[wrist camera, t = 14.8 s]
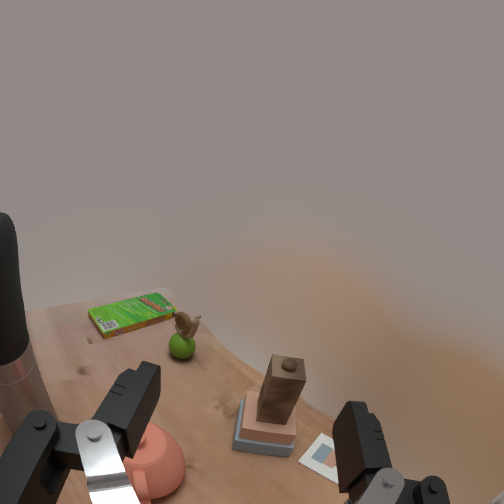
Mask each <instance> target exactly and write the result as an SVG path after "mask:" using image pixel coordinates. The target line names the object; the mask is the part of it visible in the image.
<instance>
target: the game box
mask: <svg viewBox="0 0 504 504" xmlns="http://www.w3.org/2000/svg"><path fill="white" fill-rule="evenodd" d="M160 299H162V300H163V301H165V302H166V304H167V305H165V304H164V303H163V302H162V301H161V300H160ZM175 311H177V308H175V307H174V306H173V305H172V304H171V303H169V302H168V301H167V300H166V299H165V298H164V297H163V296H162V295H160V294H159V293H152V294H148V295H144V296H140V297H136V298H132V299H128V300H124V301H120V302H116V303H112V304H108V305H104V306H100V307H96V308H92V309H88V314H89V317H90V319H91V321H92V322H93V324H94V325H95V327H96V328H97V330H98V331H99V333H100V334H101V336H102V337H103V339H107V338H110V337H114V336H117V335H120V334H124V333H127V332H130V331H134V330H137V329H140V328H143V327H146V326H150V325H153V324H156V323H159V322H162V321H165V320H169V319H172V315H173V312H175Z"/></svg>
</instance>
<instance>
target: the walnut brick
mask: <svg viewBox="0 0 504 504" xmlns="http://www.w3.org/2000/svg"><path fill="white" fill-rule="evenodd" d="M305 382H306V375H305V368H304V359H299V358H292V357H285V356H279V355H274V354H272V357H271V360H270V363H269V366H268V370H267V373H266V376H265V379H264V382H263V385H262V388H261V391H260V394H259V397H258V400H257V414H256V421H258V422H264V423H272V424H280V425H286V423H287V421H288V419H289V417H290V415H291V413H292V411H293V409H294V407H295V405H296V402H297V400H298V398H299V396H300V394H301V391H302V389H303V387H304V385H305Z"/></svg>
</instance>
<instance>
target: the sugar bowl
mask: <svg viewBox="0 0 504 504" xmlns="http://www.w3.org/2000/svg"><path fill="white" fill-rule="evenodd" d="M122 464H123V467H124V469H125V472H126V474H127V476H128V478H129V481H130V483H131V485H132V488H133V490H134V492H135V494H136V497H137V499H139V501H140V504H151V499H156V498H160V497H163V496H166V495H168V494H170V493H171V492H173V491H174V490H175V489H177V487H178V486H179V485H180V484H181V482H182V480H183V478H184V475H185V459H184V456H183V453H182V451H181V448H180V447H179V445H178V443H177V442H176V440H175V439H174V438H173V437H172V436H171V435H170V434H169V433H168V432H167V431H165V430H164V429H162V428H161V427H159V426H157V425H155V424H153V423H151V422H149V423H148V425H147V427H146V430H145V432H144V434H143V437H142V439H141V441H140V444H139V446H138V448H137V451H136V453H135V455H134V458H133V459H131V458H128V457H126V456H125V459H124V461H123V463H122Z"/></svg>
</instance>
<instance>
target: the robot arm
mask: <svg viewBox="0 0 504 504" xmlns="http://www.w3.org/2000/svg"><path fill="white" fill-rule="evenodd" d="M160 390H161V368H160V366H159V365H156V364H152V363H149V362H146V361H142V362H141V364H140V365H139V367H138V369H137V371H135V370H132V369H127V370H126V371H124V372H123V373H121V374H120V375H119V376H118V378H117V379H116V381H115V383H114V385H113V386H112V387H111V389H110V392H108V394H107V395H106V397H105V398H104V400H103V402H102V403H101V405H100V407H99V408H98V410H97V411H96V413H95V415H94V416H93V418H91V419H90V420H86V421H84V422H82V423H80V424H70V423H65V422H59V421H58V418H57V415H56V413H55V410H54V408H53V406H52V403H51V400H50V398H49V395H48V393H47V390H46V388H45V385H44V382H43V379H42V377H41V374H40V371H39V368H38V365H37V362H36V358H35V355H34V352H33V349H32V345H31V342H30V338H29V334H28V330H27V325H26V318H25V310H24V303H23V298H22V291H21V283H20V273H19V259H18V244H17V237H16V231H15V227H14V224H13V221H12V220H11V218H10V217H9V216H8V215H7V214H5V213H0V412H1V413H2V415H3V417H4V418H5V420H6V422H7V423H8V425H9V427H10V428H11V430H12V431H13V433H14V436H13V437H12V439H11V440H10V442H9V444H8V445H7V447H6V449H5V450H4V452H3V454H2V455H1V457H0V504H56V502H57V500H58V497H59V495H60V493H61V490H62V488H63V486H64V483H65V481H66V479H67V477H68V474H69V472H70V470H71V469H74V470H80V471H85V474H86V477H87V481H88V483H87V487H88V491H89V494H90V497H91V500H92V502H93V504H140V503H139V501H138V499H137V497H136V494H135V492H134V490H133V488H132V485H131V483H130V481H129V478H128V476H127V474H126V472H125V469H124V467H123V464H122V463H123V461H124V459H125V456H126V457H128V458H131V459H133V458H134V455H135V453H136V451H137V448H138V446H139V444H140V441H141V439H142V437H143V434H144V432H145V430H146V427H147V425H148V423H149V421H150V418H151V416H152V414H153V411H154V409H155V407H156V405H157V402H158V400H159V396H160ZM332 435H333V442H334V450H335V458H336V466H337V474H338V483H339V493H349V498H348V499H347V500H346V501H345V503H344V504H450V501H449V497H448V493H447V489H446V485H445V483H444V481H443V480H442V479H441V478H439V477H437V476H428V477H426V478H425V479H423V480H422V481H421V482H420V481H415V480H409V479H404V478H403V476H402V474H401V473H400V472H399V471H397V470H396V469H393V468H392V465H391V461H390V457H389V453H388V450H387V446H386V443H385V440H384V435H383V433H382V428H381V425H380V422H379V420H378V419H377V418H376V416H375V415H374V414H373V413H369V412H368V409H367V405H366V403H365V402H357V401H348V402H347V403H346V404H345V406H344V407H343V409H342V411H341V412H340V414H339V415H338V417H337V419H336V420H335V422H334V425H333V430H332Z"/></svg>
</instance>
